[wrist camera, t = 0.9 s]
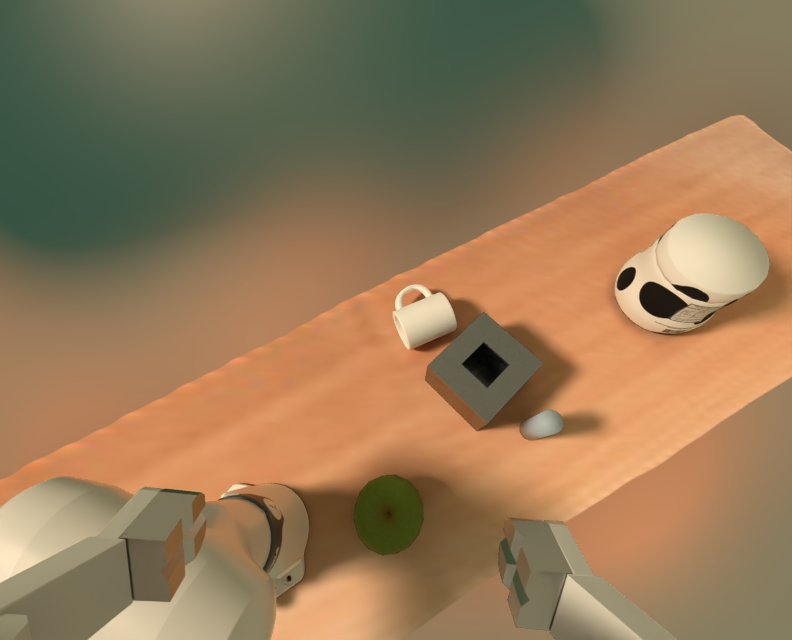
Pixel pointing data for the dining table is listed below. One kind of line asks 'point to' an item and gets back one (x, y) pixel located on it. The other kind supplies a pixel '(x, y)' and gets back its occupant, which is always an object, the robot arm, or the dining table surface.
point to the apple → (388, 514)
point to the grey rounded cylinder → (542, 425)
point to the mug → (423, 317)
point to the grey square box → (481, 370)
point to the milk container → (691, 274)
